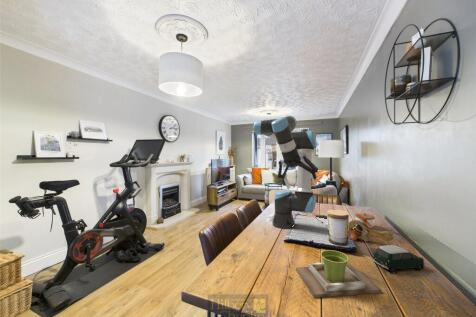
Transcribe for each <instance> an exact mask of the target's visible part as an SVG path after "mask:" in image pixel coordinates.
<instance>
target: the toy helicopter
mask: <svg viewBox="0 0 476 317" xmlns="http://www.w3.org/2000/svg"><path fill="white" fill-rule="evenodd" d="M355 214H356V215H357V216H358V217H359V218H360V221H359V220H356V219H352V220H350V221H349V222H348V224H347V226H348V225H349V229H348V231H349V232H347V237H348V236H349V237H348V239H350V240H351V239H352V240H351V241H357V239H359V240H362V241H364V242H365V243H368V242H369V241H370V237H375V238H380V239H382V240H383V241H385V242H392V240H393V239H394V235H393V234H392V233H391V232H390V231H387V230H384V231H381V230H376V229H373V228H374V225H373V226H372V225H371V224H370V223H369V222H368V221H367V219H366V218H363V217H362V216H361V215H359V214H358V213H355ZM366 224H367V225H368V226H369V227H371V228H369V227H368V226H367V225H366Z"/></svg>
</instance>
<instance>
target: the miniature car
mask: <svg viewBox="0 0 476 317" xmlns="http://www.w3.org/2000/svg"><path fill="white" fill-rule="evenodd" d="M371 260H372V261H373V262H374V263H376V264H377V265H379V266H381V267H382V268H384V269H387V270H388V272H390V273H392V274H396V273H397V271H398V270H406V269H416V270H418V271H419V272H420V271H421V270H422V271H423V270H424V269H425V265H426V264H425V261H424V258H423V257H421V256H418V255H416V254H414V253H412V252H410V251H408V250H407V249H406V248H403V247H402V246H398V245H395V244H392V245H391V244H390V245H387V244H386V245H380V246H378V247H377V248H376V250H375V251H374V252H373V254H372V256H371Z"/></svg>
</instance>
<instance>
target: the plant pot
mask: <svg viewBox="0 0 476 317" xmlns="http://www.w3.org/2000/svg"><path fill="white" fill-rule="evenodd" d="M320 257H321V258H322V261H323V262H322V263H324V268H325V275H326V278H327V279H328V280H329V281H330V282H332V283H343V282H344V277H345V269H346V265H348V262H349V261H350V259H349V256H348V255H347V254H345V253H344V252H341V251H338V250H333V249H332V250H331V249H327V250H322V251H321V252H320Z"/></svg>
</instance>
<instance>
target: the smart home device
mask: <svg viewBox="0 0 476 317" xmlns="http://www.w3.org/2000/svg"><path fill="white" fill-rule="evenodd" d="M315 216H316V217H319V218H324V219H327V217H328V216H327V215H322V214H320V215H319V214H315V215H314V217H315ZM316 217H315V218H316Z"/></svg>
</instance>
